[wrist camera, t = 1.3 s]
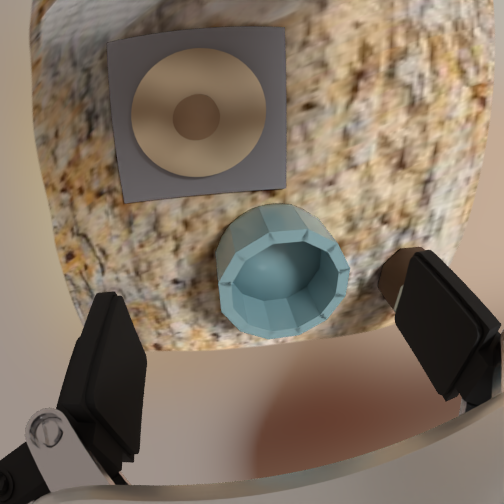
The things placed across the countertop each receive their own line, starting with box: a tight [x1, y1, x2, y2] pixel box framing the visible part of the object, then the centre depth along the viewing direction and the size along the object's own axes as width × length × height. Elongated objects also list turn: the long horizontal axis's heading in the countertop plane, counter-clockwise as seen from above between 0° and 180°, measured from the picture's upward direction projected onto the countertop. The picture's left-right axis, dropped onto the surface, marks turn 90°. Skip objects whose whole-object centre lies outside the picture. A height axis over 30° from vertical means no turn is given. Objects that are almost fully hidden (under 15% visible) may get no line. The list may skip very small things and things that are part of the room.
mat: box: [107, 26, 286, 203], centre depth 23 cm, size 14×14×1 cm
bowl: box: [215, 204, 350, 339], centre depth 28 cm, size 11×11×6 cm
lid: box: [131, 48, 266, 177], centre depth 20 cm, size 10×10×5 cm
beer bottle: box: [378, 247, 425, 313], centre depth 24 cm, size 8×8×24 cm
